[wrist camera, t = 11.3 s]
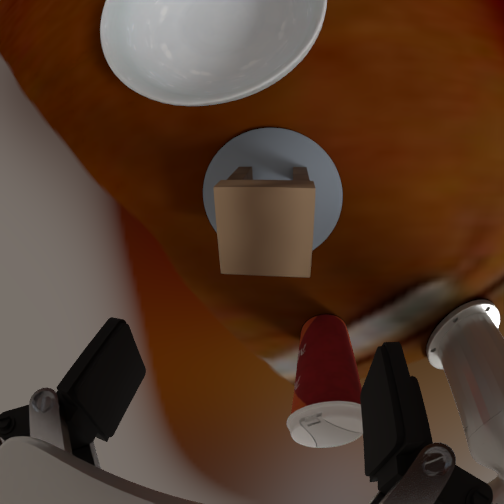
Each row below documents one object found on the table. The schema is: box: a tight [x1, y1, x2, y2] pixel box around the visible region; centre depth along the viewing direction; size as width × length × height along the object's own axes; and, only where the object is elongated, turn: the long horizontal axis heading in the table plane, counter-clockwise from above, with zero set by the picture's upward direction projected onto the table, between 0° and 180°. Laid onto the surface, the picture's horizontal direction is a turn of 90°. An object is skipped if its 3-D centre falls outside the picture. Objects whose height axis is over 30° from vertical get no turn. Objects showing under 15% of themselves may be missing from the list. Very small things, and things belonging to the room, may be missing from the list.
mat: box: [203, 128, 342, 250], centre depth 26 cm, size 13×13×1 cm
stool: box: [213, 167, 316, 277], centre depth 23 cm, size 6×6×8 cm
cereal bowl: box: [100, 0, 327, 106], centre depth 16 cm, size 17×17×7 cm
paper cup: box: [287, 314, 363, 448], centre depth 27 cm, size 8×8×14 cm
